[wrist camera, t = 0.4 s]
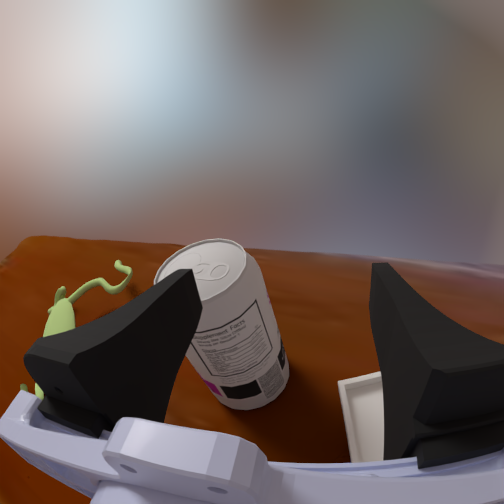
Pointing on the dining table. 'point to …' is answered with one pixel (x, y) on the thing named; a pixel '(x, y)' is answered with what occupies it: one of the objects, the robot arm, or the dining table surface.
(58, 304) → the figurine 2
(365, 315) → the dining table surface
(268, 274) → the dining table surface
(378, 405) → the tray
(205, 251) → the supplement can
